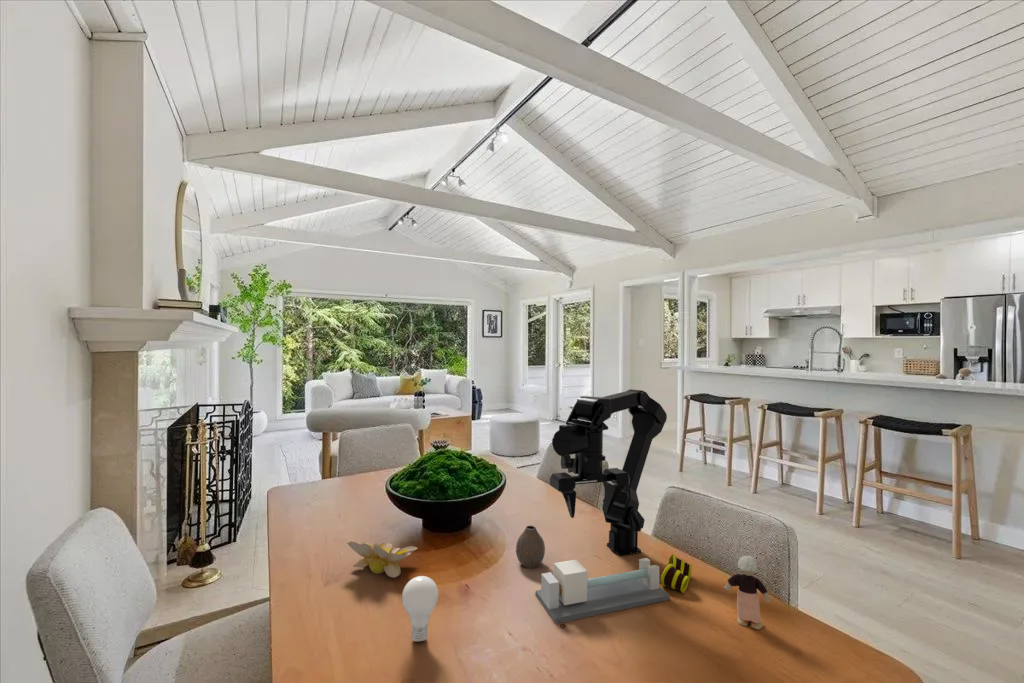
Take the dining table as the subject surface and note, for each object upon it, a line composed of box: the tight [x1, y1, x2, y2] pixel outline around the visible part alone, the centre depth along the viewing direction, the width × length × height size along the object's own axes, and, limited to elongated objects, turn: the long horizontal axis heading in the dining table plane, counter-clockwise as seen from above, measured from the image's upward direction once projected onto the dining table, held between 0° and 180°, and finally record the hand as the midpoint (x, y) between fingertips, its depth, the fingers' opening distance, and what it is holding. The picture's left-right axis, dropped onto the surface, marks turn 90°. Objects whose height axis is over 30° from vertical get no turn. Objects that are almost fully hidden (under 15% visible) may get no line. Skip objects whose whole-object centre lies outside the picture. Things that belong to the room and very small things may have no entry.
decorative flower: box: [347, 541, 418, 578], centre depth 105 cm, size 15×11×10 cm
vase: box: [515, 525, 546, 569], centre depth 109 cm, size 7×7×9 cm
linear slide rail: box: [535, 557, 671, 624], centre depth 95 cm, size 26×10×6 cm, turn 109°
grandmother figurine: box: [724, 555, 772, 630], centre depth 87 cm, size 8×4×13 cm, turn 71°
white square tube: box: [553, 559, 588, 605], centre depth 92 cm, size 5×5×6 cm
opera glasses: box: [660, 554, 693, 594], centre depth 101 cm, size 10×5×5 cm, turn 150°
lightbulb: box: [401, 575, 439, 643], centre depth 80 cm, size 6×6×11 cm
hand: (589, 515), depth 108 cm, fingers open, 9 cm apart
